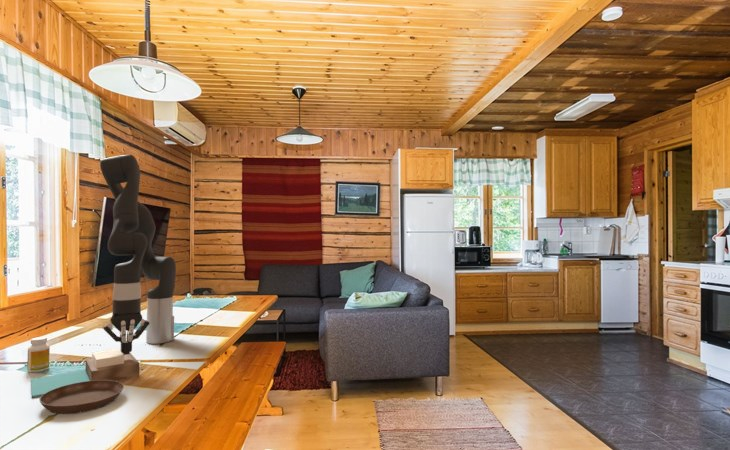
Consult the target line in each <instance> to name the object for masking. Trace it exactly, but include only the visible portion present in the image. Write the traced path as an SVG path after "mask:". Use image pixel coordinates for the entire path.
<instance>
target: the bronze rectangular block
mask: <svg viewBox="0 0 730 450" xmlns="http://www.w3.org/2000/svg"><path fill="white" fill-rule="evenodd" d="M84 370H85V371H86V373H87V375H88V377H89V380H90V381H95V380H111V381H117V382H120V381H124V380H129V379H134V378H140V362H139V360H137V358H136V357H135V356H133V354H132V352H130V354H126V355H124V364H118V365H112V366H106V367H100V368H96V367H95V365H94V363H93V361H92V358H86V359H85V369H84Z"/></svg>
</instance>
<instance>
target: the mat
mask: <svg viewBox="0 0 730 450" xmlns="http://www.w3.org/2000/svg"><path fill="white" fill-rule="evenodd" d="M85 381H90V380H89V377H88V375H87V373H86V371H85V369H82V370H75V371H70V372H64V373H57V374H52V375H51V374H50V375H46V376H40V377H33V378H31V379H30V387H31V388H30V389H31V399H35V398H40V397H41V396H42V395H43V394H45V393H47V392H49V391H51V390H53V389H56V388H59V387H62V386H65V385H69V384H74V383H79V382H85Z"/></svg>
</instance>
